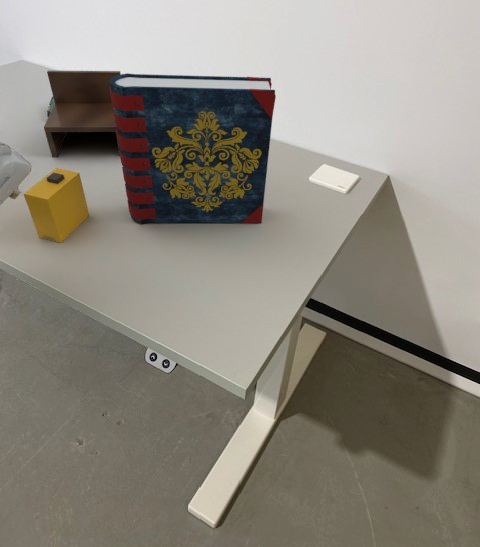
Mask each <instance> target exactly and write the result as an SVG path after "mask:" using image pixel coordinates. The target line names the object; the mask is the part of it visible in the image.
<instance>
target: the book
mask: <svg viewBox="0 0 480 547" xmlns="http://www.w3.org/2000/svg"><path fill="white" fill-rule="evenodd" d="M109 89H110V94H111V99H112V104H113V107H114V110H113V113H114V118H115V123H116V128H117V130H116V132H117V137H118V142H119V146H120V156H119V157H120V163H121V166H122V167H121V169H122V176H123V181H124V188H125V194H126V198H127V205H128V212H129V215H130V217H131V220H133V222H135V223H136V224H139V225H147V224H262V222H263V212H264V204H265V193H266V184H267V175H268V173H267V172H268V164H269V163H268V162H269V154H270V145H271V136H272V125H273V116H274V111H275V110H274V109H275V104H276V89H272V79H271V77H257V76H220V75H219V76H215V75H183V74H182V75H181V74H180V75H179V74H177V75H176V74H146V73H145V74H143V73H142V74H141V73H140V74H139V73H128V72H127V73H121V75H117V76H115V77H112V78H111V79H110V88H109ZM116 132H115V133H116Z"/></svg>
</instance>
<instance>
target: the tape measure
mask: <svg viewBox="0 0 480 547" xmlns="http://www.w3.org/2000/svg"><path fill="white" fill-rule="evenodd" d="M23 196H24V200H25V202H26V206H27V208H28V210H29V213H30V216H31V219H32V222H33V224H34V228H35V231H36V233H37V236H38V238H39V239H40V238H41V239H44V240H49V241H51V242H56V243H60V244H62V243H63V242H64V241H65V240H66V239H67V238H68V237H69V236H70V235H71V234H72V233H73V232H74V231H75V230H76V229H77V228H78V227H79V226H80V225H81V224H82V223H83V222H84V221H85V220H86V219H87V218H88V217H90V212H89V208H88V203H87V199H86V195H85V191H84V187H83V183H82V179H81V173H80V172H77V171H74V170H68V169H65V168H59V167H56V168H55V169H53V170H52V171H51V172H49V173H48V174H47V175H46V176H45V177H42V179H40V180H39V181H38V182H36V184H34V185H33V186H32V187H30V188H29V189H28V190H26V191H25V192H23Z"/></svg>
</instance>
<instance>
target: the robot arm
mask: <svg viewBox="0 0 480 547" xmlns="http://www.w3.org/2000/svg"><path fill="white" fill-rule="evenodd" d="M32 169H33V166H32V163H31V162H30V161H29V160H28V159H27V158H26V157H24V156H23V155H21V154H20V153H19V152H18V151H17V150H15V149H14V148H12V147H10V146H9V145H8V144H6V143H3V142H1V141H0V207H1V206H2V205H3V203H4V202H5V201H6V200H7V199H8V198H10V199H12V200H16V199H17V198H18V197H19V195H21V193H22V191H21V190H20V189H19V186H20V185H21V184H22V183H23V182H24V181H25V179H26V178H27V177H28V176H29V175H30V174H31V172H32Z"/></svg>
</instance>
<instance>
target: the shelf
mask: <svg viewBox="0 0 480 547" xmlns="http://www.w3.org/2000/svg"><path fill="white" fill-rule="evenodd" d="M46 73H47V78H48V81H49V85H50V89H51V94H52V97H53V98H54V102H55V104H54V106H53V108H52V111H51V113H50V115H49V117H48V116H47V118H46V121H45V124H44V125H43V130H44V134H45V137H46V140H47V144H48V148H49V152H50V155H51V158H58V156H59V154H60V151H61V149H62V146H63V143H64V140H65V138H66V135H67V133H113V132H114V133H115V138H116V143H117V144H116V145H117V149H118V156H119V157H120V146H119V142H118V137H117V132H116V130H117V128H116V123H115V118H114V113H113V110H114V107H113V104H112V99H111V94H110V89H109V88H110V79H111V78H112V77H115V76H117V75H121V74H122V73H121V70H47V71H46Z"/></svg>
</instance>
